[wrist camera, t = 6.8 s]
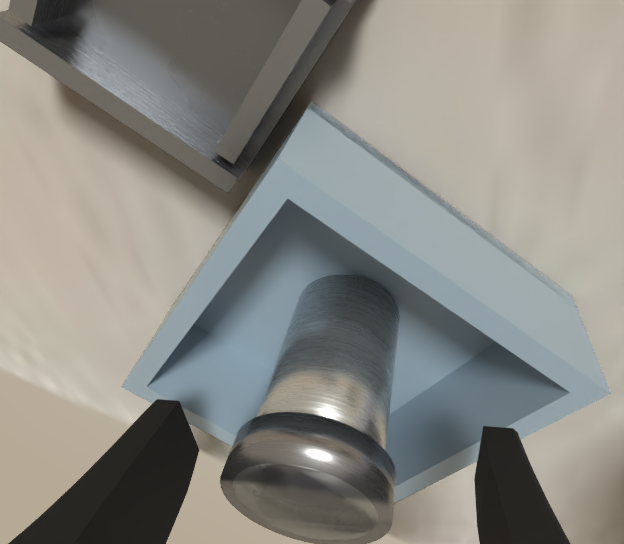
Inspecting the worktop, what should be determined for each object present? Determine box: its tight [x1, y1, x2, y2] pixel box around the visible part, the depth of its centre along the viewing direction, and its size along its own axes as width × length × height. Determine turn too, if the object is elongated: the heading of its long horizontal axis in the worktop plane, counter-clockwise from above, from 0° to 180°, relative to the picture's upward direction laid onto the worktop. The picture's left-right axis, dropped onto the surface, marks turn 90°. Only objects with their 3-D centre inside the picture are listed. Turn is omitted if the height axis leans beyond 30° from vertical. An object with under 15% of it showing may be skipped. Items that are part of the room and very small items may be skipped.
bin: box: [122, 101, 611, 503], centre depth 14 cm, size 9×9×4 cm
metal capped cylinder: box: [220, 275, 400, 544], centre depth 13 cm, size 4×4×6 cm
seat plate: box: [0, 0, 356, 193], centre depth 10 cm, size 6×6×2 cm
